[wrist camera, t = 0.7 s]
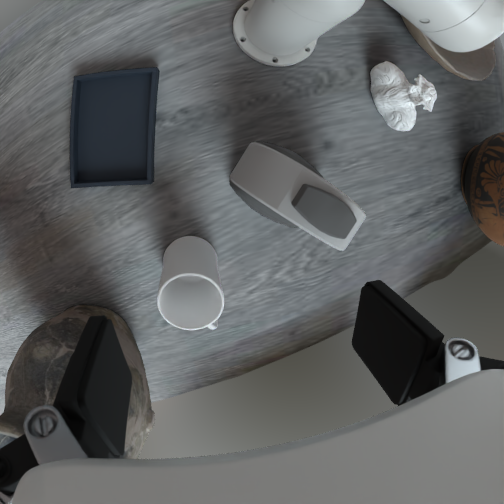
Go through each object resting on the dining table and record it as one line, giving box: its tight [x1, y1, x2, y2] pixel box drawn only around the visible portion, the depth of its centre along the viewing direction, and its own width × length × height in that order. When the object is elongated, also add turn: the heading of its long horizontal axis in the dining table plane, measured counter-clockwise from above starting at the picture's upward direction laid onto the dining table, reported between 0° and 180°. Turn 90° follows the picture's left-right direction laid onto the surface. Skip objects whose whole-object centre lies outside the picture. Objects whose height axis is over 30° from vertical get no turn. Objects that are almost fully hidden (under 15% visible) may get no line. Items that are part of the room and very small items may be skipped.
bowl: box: [401, 15, 496, 81], centre depth 29 cm, size 26×26×10 cm
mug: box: [157, 236, 224, 330], centre depth 39 cm, size 12×8×12 cm
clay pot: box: [0, 304, 154, 459], centre depth 33 cm, size 22×23×30 cm
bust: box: [370, 61, 437, 131], centre depth 35 cm, size 12×8×11 cm
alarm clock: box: [230, 141, 366, 251], centre depth 34 cm, size 16×10×18 cm, turn 58°
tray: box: [70, 67, 159, 188], centre depth 33 cm, size 16×12×2 cm
